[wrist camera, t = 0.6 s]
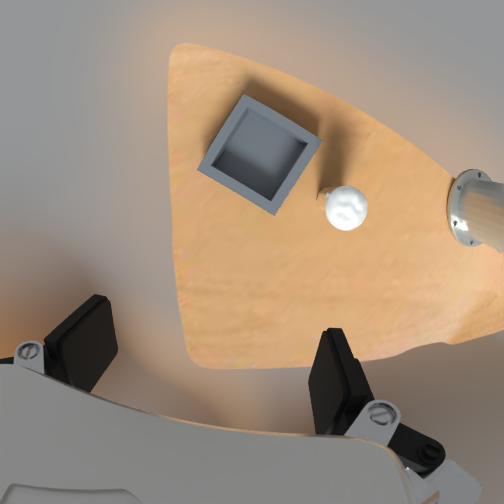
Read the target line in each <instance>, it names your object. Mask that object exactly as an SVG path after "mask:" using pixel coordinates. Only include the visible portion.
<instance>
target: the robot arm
mask: <svg viewBox="0 0 504 504" xmlns="http://www.w3.org/2000/svg"><path fill="white" fill-rule="evenodd" d="M447 216H448V223H449V227H450V230H451V232H452V234H453V236H454V237H455V239H456V240H457V241H458V242H460V243H461V244H463V245H465V246H468V247H475V246H478V245H480V244H482V243H484V244H486V245H488V246H490V247H492V248H494V249H496V250H497V251H498V252H499V253H504V184H502V183H497V182H492V181H491V180H490V178H489V177H488V176H487V175H486V174H485V173H484V172H482V171H480V170H476V169H469V170H466V171H464V172H462V173H461V174H460V175H459V176H458V177H457V178H456V180H455V181H454V183H453V185H452V187H451V190H450V193H449V197H448V204H447ZM44 342H45V345H44V346H42V345H41V343H39V342H37V341H27V342H24V343H21V344H20V345H19V346H18V347H17V348H16V350H15V353H14V357H9V358H4V359H0V504H476V503H477V501H478V500H479V498H480V496H481V492H482V488H481V485H480V484H479V482H478V481H477V480H475V479H474V478H473V477H472V476H471V475H469V474H468V473H467V472H466V471H465V470H463V469H462V468H461V467H460V466H458V465H457V464H456V463H455V462H454V461H453V460H449V461H447V460H446V459H445V456H446V455H445V450H444V448H443V446H442V445H441V444H440V443H439V442H437V441H436V440H434V439H432V438H430V437H428V436H425V435H423V434H421V433H419V432H417V431H415V430H413V429H411V428H409V427H407V426H405V425H403V424H401V423H400V418H401V416H400V412H399V410H398V408H397V407H396V406H395V405H393V404H392V403H390V402H388V401H385V400H375V399H374V397H373V394H372V392H371V390H370V387H369V384H368V382H367V379H366V377H365V374H364V372H363V369H362V367H361V364H360V362H359V360H358V359H356V358H354V357H353V354H352V352H351V349H350V347H349V344H348V342H347V339H346V337H345V335H344V332H343V330H342V329H341V328H328V329H327V331H323V332H322V336H321V339H320V343H319V346H318V350H317V353H316V356H315V360H314V363H313V366H312V370H311V373H310V376H309V381H308V385H309V391H310V398H311V404H312V410H313V417H314V424H315V431H316V434H290V433H275V432H262V431H261V432H260V431H250V430H241V429H233V428H225V427H219V426H212V425H206V424H200V423H195V422H190V421H185V420H180V419H175V418H171V417H167V416H163V415H159V414H154V413H151V412H147V411H143V410H140V409H136V408H133V407H130V406H126V405H123V404H120V403H117V402H114V401H111V400H108V399H105V398H102V397H99V396H97V395H94V394H91V393H90V392H91V390H92V389H93V388H94V386H95V385H96V383H97V382H98V380H99V379H100V377H101V376H102V374H103V373H104V371H105V370H106V369H107V367H108V366H109V365H110V363H111V362H112V360H113V359H114V357H115V356H116V354H117V352H118V346H117V341H116V335H115V329H114V324H113V317H112V310H111V303H110V301H109V300H108V299H107V297H106V296H102V295H97V294H94V295H93V296H92V297H91V298H89V299H88V300H87V301H86V302H85V303H84V304H82V305H81V306H80V307H79V308H78V309H77V310H76V311H74V312H73V313H72V314H71V315H70V316H69V317H68V318H66V319H65V320H64V321H63V322H62V323H61V324H60V325H59V326H57V327H56V328H55V329H54V330H53V331H52V332H51V333H50V334H49V335H48V336H47V337H45V338H44Z"/></svg>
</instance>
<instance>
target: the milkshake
mask: <svg viewBox="0 0 504 504" xmlns="http://www.w3.org/2000/svg"><path fill="white" fill-rule="evenodd" d="M317 202H318V205H319V207H320V209H321V210H322V211H323V213H324V214H325V215H326V217H327V218H328V220H329V221H330V223H331V224H332V225H333V226H335V227H336V228H338V229H341V230H352V229H354V228H356V227H358V226H359V225H360V224H361V223H362V222H363V220H364V219H365V217H366V214H367V200H366V197H365V196H364V194H363V193H362V192H361V191H360V190H358V189H357V188H355V187H353V186H338V187H324V188H323V189H322V190H321V191H320V192H319V193H318V197H317Z"/></svg>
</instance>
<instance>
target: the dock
mask: <svg viewBox="0 0 504 504" xmlns="http://www.w3.org/2000/svg"><path fill="white" fill-rule="evenodd" d="M321 142H322V140H321V139H319V138H318V137H316V136H315V135H313V134H312V133H310V132H309V131H307V130H306V129H304V128H302V127H301V126H299V125H298V124H296V123H294V122H293V121H291V120H289V119H288V118H286V117H284V116H283V115H281V114H279V113H278V112H276V111H274V110H273V109H271V108H269V107H267V106H265V105H264V104H262V103H260V102H258V101H256V100H254V99H253V98H251V97H249V96H247V95H245V94H244V95H243V96H242V97H241V99H240V100H239V102H238V103H237V105H236V106H235V108H234V109H233V111H232V113H231V114H230V116H229V117H228V119H227V120H226V122H225V123H224V125H223V127H222V128H221V130H220V131H219V133H218V135H217V136H216V138H215V140H214V141H213V143H212V144H211V146H210V148H209V149H208V151H207V153H206V155H205V156H204V158H203V160H202V161H201V163H200V165H199V167H198V168H197V170H198V171H200V172H202V173H203V174H205V175H207V176H209V177H210V178H212V179H214V180H216V181H217V182H219V183H221V184H222V185H224V186H226V187H228V188H229V189H231V190H233V191H234V192H236V193H238V194H239V195H241V196H243V197H244V198H246V199H248V200H249V201H251V202H253V203H254V204H256V205H258V206H259V207H261V208H262V209H264V210H266V211H267V212H269V213H271V214H272V215H274V216H275V214H276V213H277V211H278V209H279V208H280V206H281V205H282V203H283V202H284V200H285V199H286V197H287V195H288V194H289V192H290V191H291V189H292V188H293V186H294V185H295V183H296V181H297V180H298V178H299V177H300V175H301V174H302V172H303V170H304V169H305V167H306V166H307V164H308V163H309V161H310V160H311V158H312V156H313V155H314V153H315V152H316V150H317V149H318V147H319V146H320V144H321Z"/></svg>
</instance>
